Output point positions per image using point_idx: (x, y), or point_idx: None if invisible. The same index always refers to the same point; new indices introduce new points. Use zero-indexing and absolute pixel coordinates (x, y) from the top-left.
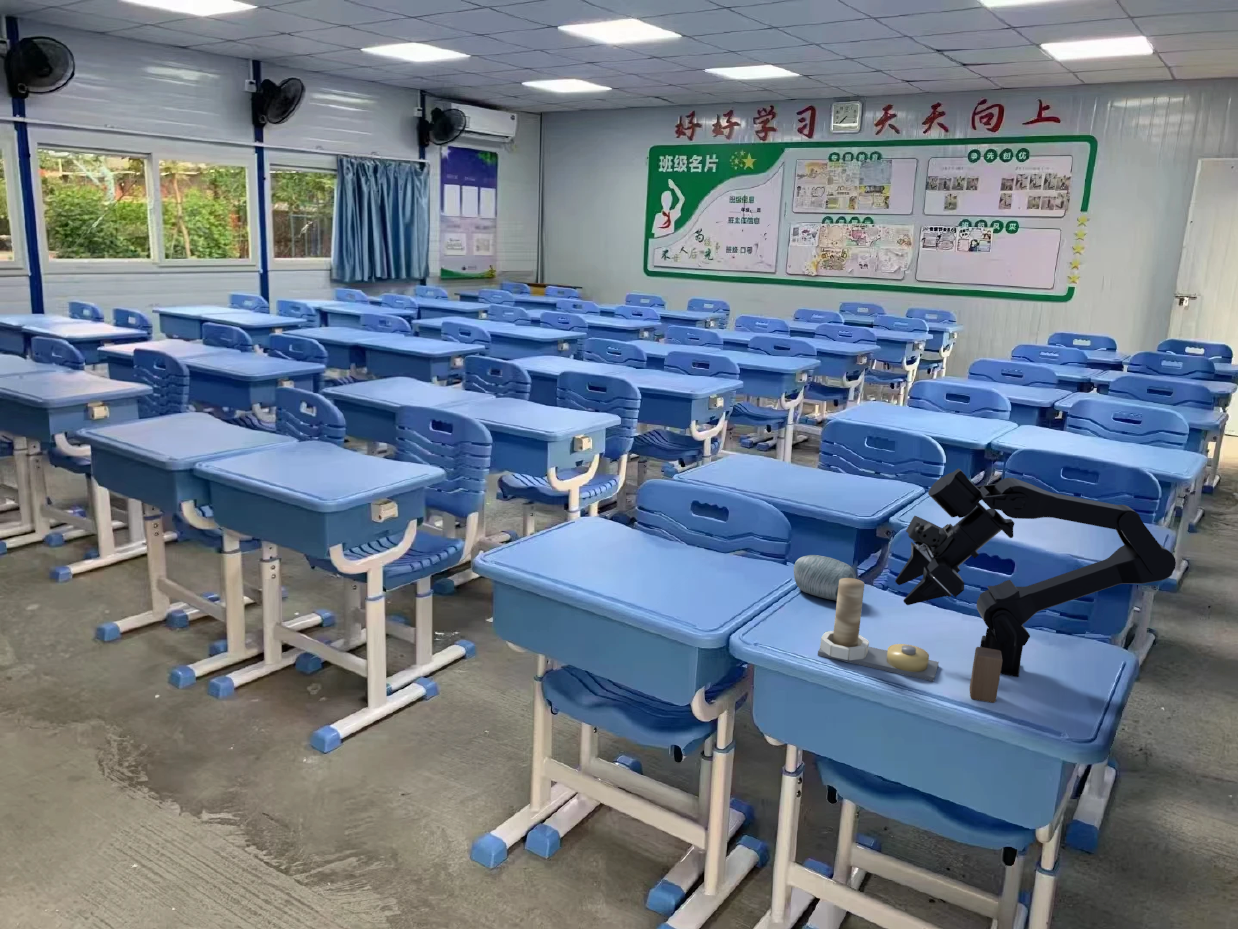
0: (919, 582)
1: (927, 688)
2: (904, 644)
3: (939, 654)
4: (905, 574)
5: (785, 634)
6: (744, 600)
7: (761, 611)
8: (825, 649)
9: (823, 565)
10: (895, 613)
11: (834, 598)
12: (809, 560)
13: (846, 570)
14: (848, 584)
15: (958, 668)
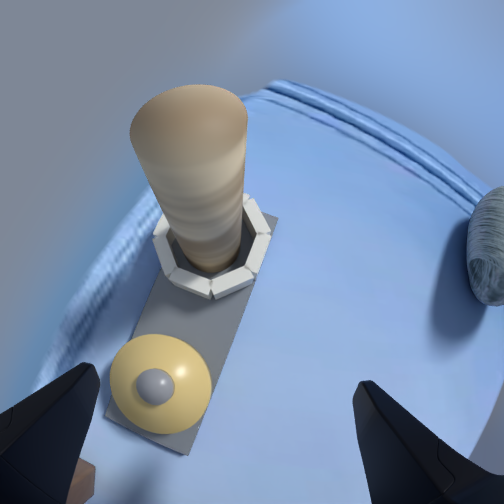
0: (9, 438)
1: None
2: (208, 390)
3: (258, 469)
4: (381, 438)
5: (291, 154)
6: (406, 128)
7: (378, 139)
8: None
9: None
10: (452, 388)
11: (467, 265)
12: None
13: None
14: (158, 107)
15: (189, 486)
